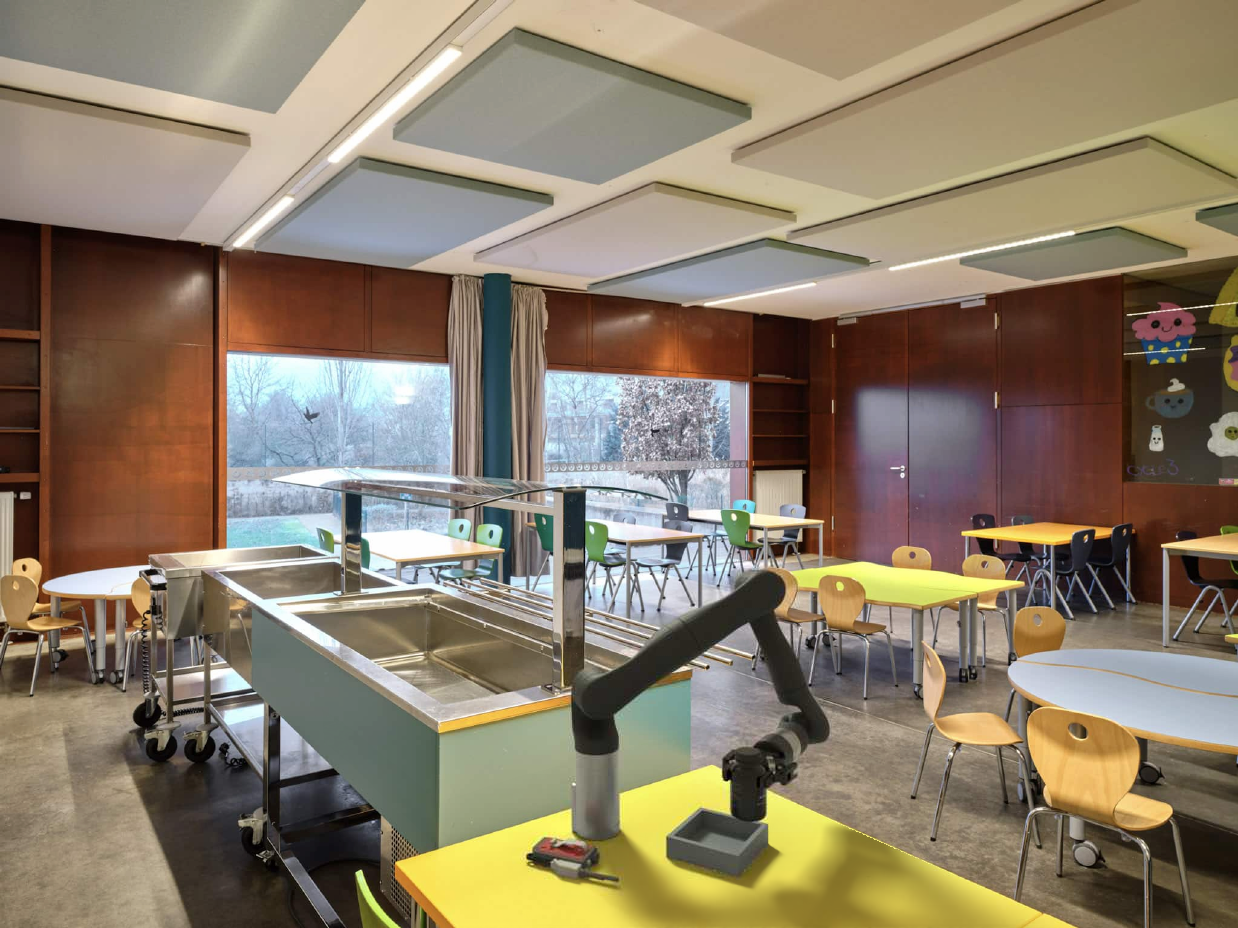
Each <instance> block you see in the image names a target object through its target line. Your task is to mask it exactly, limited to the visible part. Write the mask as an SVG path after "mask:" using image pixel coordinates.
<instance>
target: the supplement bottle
mask: <svg viewBox="0 0 1238 928" xmlns="http://www.w3.org/2000/svg"><path fill="white" fill-rule="evenodd" d="M735 761H736V762H735V763H734V764H733V765H732V766H731V768H730V780H729V812H730V813H729V814H730V815H732V816H733V817H734V818H736V819H738V820H740V821H745V822H757V821H759V822H762V821H763V820H764V819H765V818H766V817H767V813H768V800H767V799H768V792H767V791H768V790H767V789H768V788H766V789H765V790H760V778H761V777H762V776H763V775H764V774H766V769H765V767H764V766H763V765H762V764H761V762H762V759H761V751H760V750H759V749H757V748H754V747H753V746H741V747H737V748H735Z"/></svg>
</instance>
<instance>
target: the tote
mask: <svg viewBox="0 0 1238 928" xmlns="http://www.w3.org/2000/svg"><path fill="white" fill-rule="evenodd" d="M768 845H769V823H766V822H763V821H757V822H745V821H740V820H738V819H736V818H734V817H733V816H732V815H731V813H726V812H722V811H719V810H714V809H713V810H712V809H709V808H705V807H701V806H700V807H699V808H698V809H697V810H695V811H694V812H693V813H692V814H690V815H689V816H688V817H687V818H686V819H685V820H683V821H682V822H681V823H680V824H679V825H677V826H676V827H675V828H674V829H673V830H671V831H670V832H669V833H668V834H667V835H666V836H665V848H666V849H665V851H666V852H665V853H666V855H665V856H666V858H667V859H671V860H675V861H679V862H683V863H686V864H689V865H692V864H693V865H692V866H695V867H696V866H697V867H700V868H702V867H704V868H703V869H706V868H707V870H709V869H711V871H713V870H716V871H719V872H718V873H720V872H722V873H721V874H723V873H726V874H725V875H727V874H728V876H730V875H732V876H731V877H734V876H735V877H734V878H737V879H738V878H740V877H741V876H742V875H743V873H744V872H745V871H746V870H747V869H748V868H749V867H750V866H751V864H752V863H753V862H754V861H755V860H756V859H757V858H758V856H759V855H760V854H761V853H762V852H763V851H764V850H765V848H767V846H768ZM762 850H763V851H762ZM755 858H756V859H755ZM754 859H755V860H754ZM752 861H753V862H752ZM747 867H748V868H747ZM744 870H745V871H744ZM716 871H715V872H716ZM740 875H741V876H740ZM739 876H740V877H739Z"/></svg>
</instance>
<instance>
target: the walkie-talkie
mask: <svg viewBox="0 0 1238 928" xmlns="http://www.w3.org/2000/svg"><path fill="white" fill-rule="evenodd" d="M531 849H532V850H531V851H532V852H528V853H527V854H525V859H526V860H527V861H530V862H532V863H533V864H534V865H538V866H540V867H541V866H543V867H545V868H546V867H548V868H550V869H553V871H554V873H555V874H556V875H558V876H561V877H565V878H569V879H572V880H578V879H579V878H590V879H593V880H598V881H610V882H614V883H619V882H620V879H619V877H616V876H613V875H608V874H604V873H599V872H594V871H590V869H591V867H592V866H593V865H597V864H598V863H599V861H600V858H601V857H600V856H601V854H600V852H599V851H598V847H597V846H594V845H590V844H588V842H586V841H585V840H581V839H579V840H578V839H576V838H571V837H568V838H565V839H561V838H558V837H556V836H555V837H551V836H550V837H548V836H543V838H541V839H540V840H539V841H538V842H536V844H534V846H533V847H532V848H531Z"/></svg>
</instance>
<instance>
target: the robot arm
mask: <svg viewBox="0 0 1238 928" xmlns="http://www.w3.org/2000/svg"><path fill="white" fill-rule="evenodd" d="M786 593H787V586H786V582H785V580H784V579H783V577H782V576H781V575H780V574H778V573H776V572H774V571H771V570H770V569H769V570H768V569H749V570H746V571H744V572H742V573H741V574H739V576H738V577H737V578H736V581H735V582H734V590H733V591H731V592H729V593H728V594H727V595H725V596H723V597H722V598H720V599H717V600H715V601H713V602H711V603H707V604H705V605H702V606H699V607H697V608H694V609H693V610H690V611H688V612H686V613H683V614H681V615H680V616H678V617H676V618H675V619H673V620H671V621H669V622H668V623H666V624H665V625H663V626H662V627H661V628H659V629H658V630H656V632H654V633H653V634H652V635H651V636H650V637H649V639H648V640H647V641H646V642H645V643H644V645H643V646H642V647H641V648H640V650H638V651H637V653H636V654H634V655H633V656H632V657H631V658H630V659H628V660H626V661H625V662H624V663H621V664H620V665H618V666H617V667H615V668H613V669H611V670H609V671H607V670H605V669H603V668H602V667H599V666H588V667H585V668H583V669H582V670H581V671H579V672H578V673H577V674H576V676H575V677H574V678H573V681H572V684H571V689H570V690H571V691H570V705H571V706H570V707H571V708H570V709H571V713H570V714H571V728H572V735H573V740H574V767H575V768H574V774H575V775H574V779H575V780H574V781H575V782H573V783H572V784H571V786H570V796H571V798H570V804H571V807H570V808H571V813H570V814H571V817H570V818H571V831H573V832H575V833H576V834H577V836H579V837H580V838H582V839H585V840H591V841H602V840H609V839H612V838H613V837H615V836H617V835H618V834H619V833H620V830H621V815H620V813H621V810H620V809H621V808H620V807H621V803H620V801H621V799H620V798H621V797H620V796H621V795H620V794H621V792H620V788H621V787H620V784H621V783H620V737H619V736H620V735H619V731H618V729H617V725H616V720H615V715H616V714H618V712H620V711H621V710H623V709H624V708H625V707H626V706H627V705H629V704H630V703H632V702H633V700H635V699H636V698H637V697H638V696H640V695H641V694H643V693H644V692H645V691H646V690H648V689H649V688H650V687H652V686H654V685H656V684H657V683H658V682H660V681H663V679H665V678H666V677H668V676H670V675H671V674H673V673H675V672H676V671H677V670H679V669H681V668H683V667H685V666H686V665H688V664H689V663H691V662H693V661H694V660H695V659H697V658H698V657H700V656H701V655H703V654H704V653H706V652H707V651H708V650H710V649H711V648H713V647H714V646H716V645H718V644H719V643H720V642H722V641H723V640H725V639H726V638H727V637H729V636H730V635H731V634H733V633H734V632H735V631H737V630H738V629H740V628H742V627H743V626H745V625H747V624H749V626H750V627H751V630H752V633H753V634H754V636H755V639H756V641H757V643H758V646H759V648H760V651H761V653H762V656H763V659H764V661H765V664H766V667H767V670H768V674H769V677H770V679H771V681H772V685H773V688H774V690H775V694H776V696H777V699H778V701H779V703H781V704H782V705H785V706H792V707H797V708H798V709H799V710H800V711H795V712H788V713H786V714H784V715H783V716H781V718H780V720H779V723H778V726H777V727H776V728H775V729H773V730H771V731H769V732H768V733H766V734H764V735H763V736H762V737H761V738H760V739H759V740H758V741H757V742H755V743H754V745H753V746H752V747H754V748H757V749H759V750H760V751H761V759H762V762H761V764H762V765H763V766H764V767H765V769H766V774H764V775H763V776H762V777H761V778H760V790H765V789H766V788H767V789H770V788H771V787H772V786H775V785H777V784H778V783H779V784H780V786H783V787H784V786H785V787H786V786H788V785H789V784H790V783H791V782H793V780H795V779H796V778H798V776H799V775H798V768H799V767H798V766H799V765H798V762H797V760H798V758H799V757H800V756H802V755H803V754H804V752H805V751H806V750H807V749H808V746H809V745H816V744H823V743H825V742H826V741H827V740H828V738H829V736H830V733H831V727H830V723H829V720H828V718H827V715H826V714H825V712H824V711H823V709H822V707H821V706H820V705H819V704H818V702H817V700H816V699H815V697H814V695H813V694H812V692H811V691H810V688H809V687H808V683H807V681H806V678H805V675H804V671H803V668H802V666H801V663H800V661H799V658H798V657H797V654H796V653H795V651H794V649H793V647H792V645H791V644H790V643H789V641H788V640H787V637H786V636H785V634H784V632H783V631H782V628H781V626H780V624H779V621H778V618H777V617H776V612H775V610H776V609H778V607H780V606H781V604H782V603H783V601H784V600H785V597H786ZM735 750H736V748H735V749H731V750H730V751H729V752H727V753H726V754H725V755H724V756H723V757H722V759H721V760H722V761H721V764H722V765H721V767H722V768H721V778H722V780H723V781H724V782H730V768H731V766H732V765H733V764H734V763H735V762H736V761H735ZM723 781H722V782H723Z"/></svg>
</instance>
